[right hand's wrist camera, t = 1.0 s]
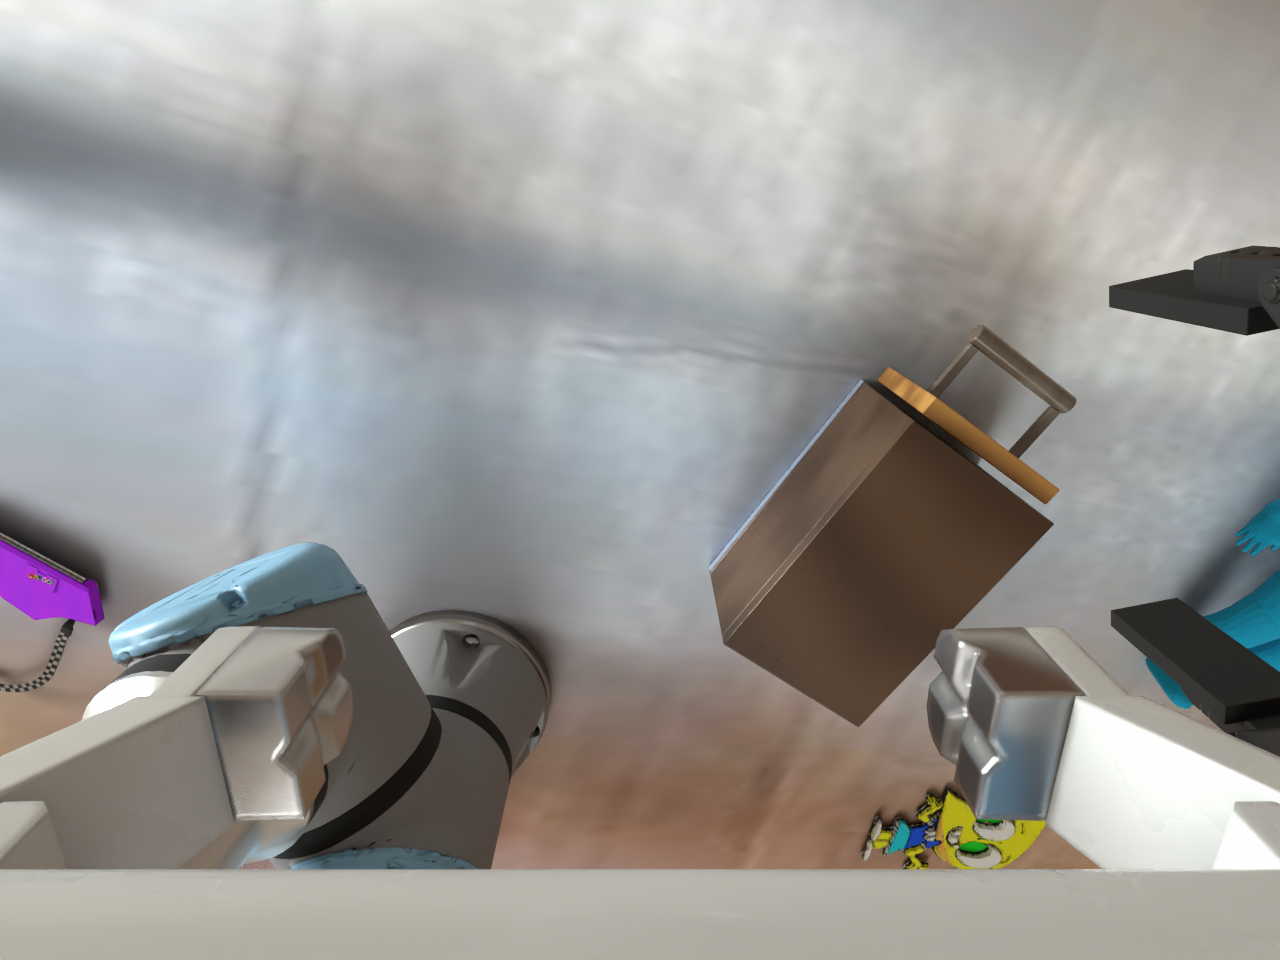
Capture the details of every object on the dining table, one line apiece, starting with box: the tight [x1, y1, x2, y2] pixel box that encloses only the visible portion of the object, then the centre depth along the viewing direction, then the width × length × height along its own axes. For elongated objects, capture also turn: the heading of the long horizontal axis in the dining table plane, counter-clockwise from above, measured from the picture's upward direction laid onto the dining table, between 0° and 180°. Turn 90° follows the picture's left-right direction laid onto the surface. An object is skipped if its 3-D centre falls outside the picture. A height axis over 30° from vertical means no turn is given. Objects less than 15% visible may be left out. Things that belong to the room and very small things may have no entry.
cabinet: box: [709, 379, 1054, 727], centre depth 52 cm, size 18×11×11 cm, turn 145°
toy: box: [860, 786, 1046, 869], centre depth 67 cm, size 10×1×15 cm
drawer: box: [878, 325, 1076, 504], centre depth 50 cm, size 22×10×9 cm, turn 145°
